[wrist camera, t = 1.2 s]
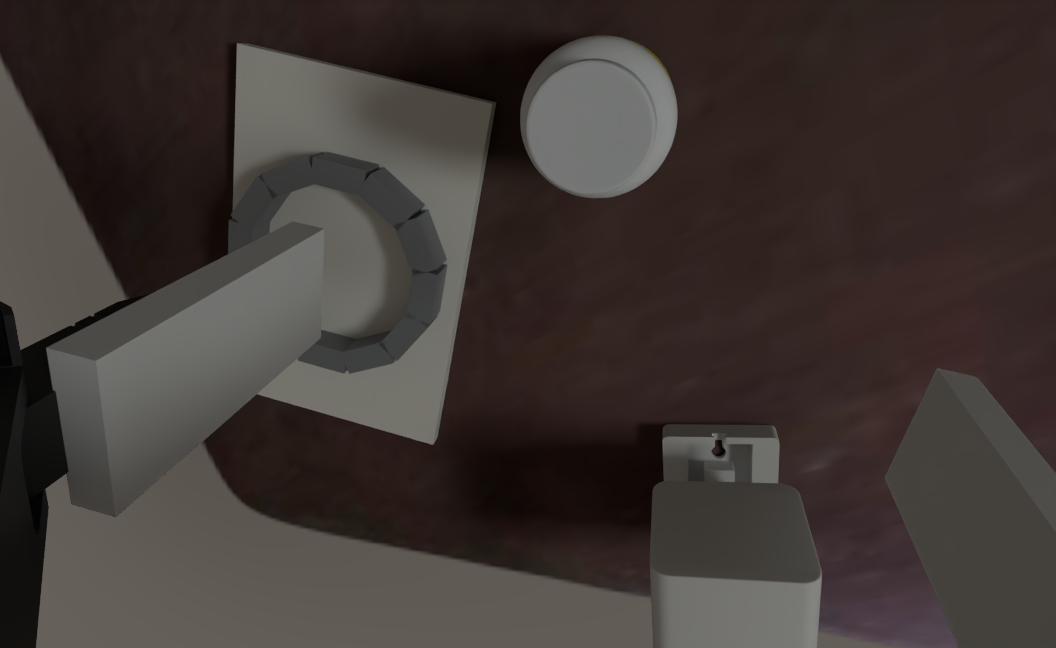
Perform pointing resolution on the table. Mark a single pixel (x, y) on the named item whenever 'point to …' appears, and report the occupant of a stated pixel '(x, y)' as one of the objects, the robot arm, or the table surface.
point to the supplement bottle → (599, 116)
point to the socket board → (364, 225)
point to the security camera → (730, 545)
